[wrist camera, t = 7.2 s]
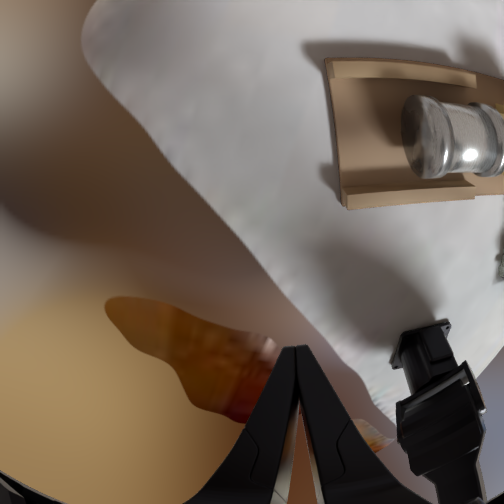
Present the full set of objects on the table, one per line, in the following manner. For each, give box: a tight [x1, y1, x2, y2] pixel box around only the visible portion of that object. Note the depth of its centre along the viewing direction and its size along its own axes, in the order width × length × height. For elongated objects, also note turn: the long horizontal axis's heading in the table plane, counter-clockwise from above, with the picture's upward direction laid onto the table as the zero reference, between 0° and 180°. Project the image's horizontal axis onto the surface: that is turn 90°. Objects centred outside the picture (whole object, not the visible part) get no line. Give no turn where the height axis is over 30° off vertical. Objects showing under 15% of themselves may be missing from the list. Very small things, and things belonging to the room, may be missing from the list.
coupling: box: [401, 95, 504, 179], centre depth 12 cm, size 5×6×5 cm
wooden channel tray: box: [325, 58, 504, 210], centre depth 12 cm, size 10×18×7 cm, turn 101°
